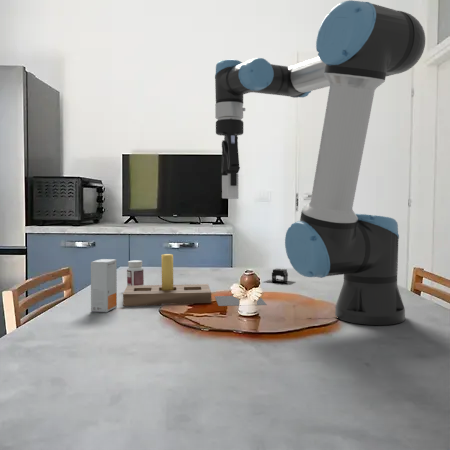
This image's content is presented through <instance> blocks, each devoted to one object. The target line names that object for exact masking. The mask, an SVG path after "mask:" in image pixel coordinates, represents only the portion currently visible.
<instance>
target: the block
mask: <svg viewBox="0 0 450 450" xmlns="http://www.w3.org/2000/svg"><path fill="white" fill-rule="evenodd" d="M170 303H177V304H212V291H211V288H210V285H209V284H208V283H201V284H198V283H197V284H195V283H193V284H191V283H190V284H173V290H167V291H162V284H151V285H150V284H146V285H145V284H144V285H135V286H127V285H126V287H125V290H124V291H123V293H122V304H123V305H122V306H123V307H134V306H135V307H139V306H141V307H142V306H149V307H150V306H162V305H168V304H170ZM170 305H171V304H170Z"/></svg>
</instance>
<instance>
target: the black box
mask: <svg viewBox="0 0 450 450" xmlns="http://www.w3.org/2000/svg"><path fill="white" fill-rule="evenodd" d="M288 272H289V271H288V269H285V268H282V269H281V268H275V269H272V272H271V279H267V280H265V281H263V283H265V284H266V283H267V284H278V285H279V284H280V285H290V286H291V285H293V284H296V283H297V282H296V281H292V280H288V279H289V278H288V276H289V274H288ZM277 277H281V278H282V279H281V278H277Z"/></svg>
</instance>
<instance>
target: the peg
mask: <svg viewBox="0 0 450 450" xmlns="http://www.w3.org/2000/svg"><path fill="white" fill-rule="evenodd" d="M161 285H162V291H167V290H173V285H174V254H172V253H164V254H161Z"/></svg>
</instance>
